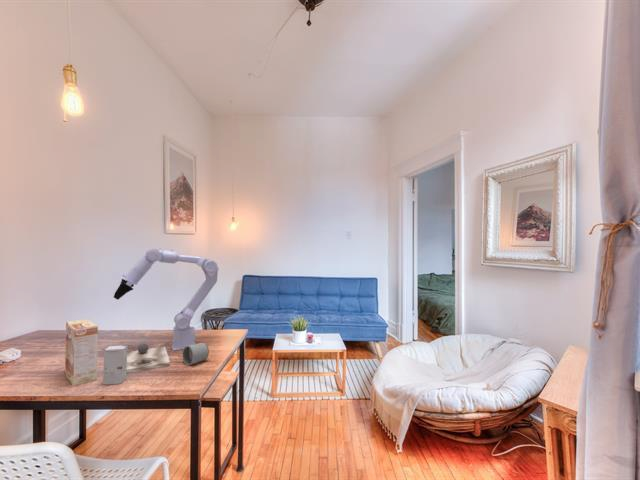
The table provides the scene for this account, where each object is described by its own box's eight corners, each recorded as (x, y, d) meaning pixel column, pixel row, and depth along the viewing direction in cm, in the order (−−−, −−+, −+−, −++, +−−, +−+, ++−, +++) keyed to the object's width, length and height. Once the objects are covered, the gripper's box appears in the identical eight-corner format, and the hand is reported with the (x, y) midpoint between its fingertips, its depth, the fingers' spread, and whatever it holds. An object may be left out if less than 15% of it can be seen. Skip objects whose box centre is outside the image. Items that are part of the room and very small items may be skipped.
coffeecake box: (63, 373, 112) (65, 321, 113) (87, 368, 118) (89, 318, 118) (71, 386, 103) (73, 329, 103) (97, 380, 108) (98, 325, 108)
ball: (148, 350, 134) (148, 341, 134) (148, 353, 130) (148, 344, 130) (137, 352, 132) (137, 343, 132) (137, 355, 128) (137, 345, 128)
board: (165, 349, 140) (165, 346, 140) (169, 365, 121) (169, 362, 121) (118, 356, 130) (118, 353, 130) (115, 375, 112) (115, 371, 112)
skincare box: (101, 385, 104) (102, 349, 104) (107, 379, 108) (108, 345, 108) (122, 383, 105) (122, 348, 105) (127, 378, 109) (128, 344, 110)
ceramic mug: (210, 361, 127) (210, 342, 127) (192, 367, 120) (192, 347, 120) (195, 356, 133) (195, 338, 133) (177, 361, 126) (177, 343, 126)
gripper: (130, 264, 140) (108, 289, 136) (130, 267, 128) (105, 294, 123) (144, 273, 143) (123, 297, 139) (145, 277, 131) (122, 303, 126)
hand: (116, 296), depth 131 cm, fingers open, 7 cm apart
